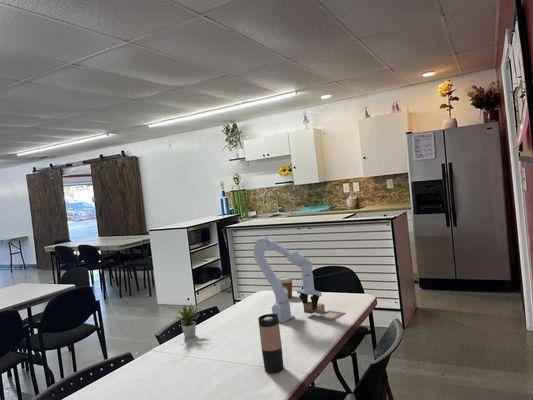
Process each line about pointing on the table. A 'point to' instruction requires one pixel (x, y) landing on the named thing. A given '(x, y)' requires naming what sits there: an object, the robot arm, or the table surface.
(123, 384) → the table surface
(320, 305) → the beech block
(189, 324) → the house plant
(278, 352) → the travel mug
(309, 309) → the walnut block
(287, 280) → the disposable coffee cup
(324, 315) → the grey flat slab
